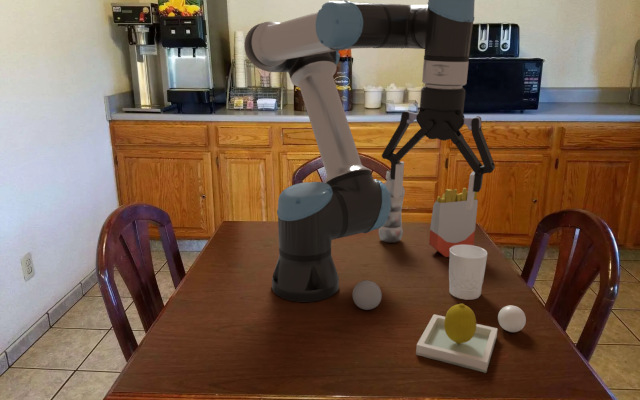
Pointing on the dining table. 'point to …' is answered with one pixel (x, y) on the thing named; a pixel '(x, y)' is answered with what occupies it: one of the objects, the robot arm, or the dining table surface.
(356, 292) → the grey rubber ball
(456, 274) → the white cup
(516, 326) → the white plastic ball
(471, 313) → the lemon
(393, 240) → the plastic bottle
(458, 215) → the french fries container
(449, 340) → the square dish
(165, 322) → the dining table surface
